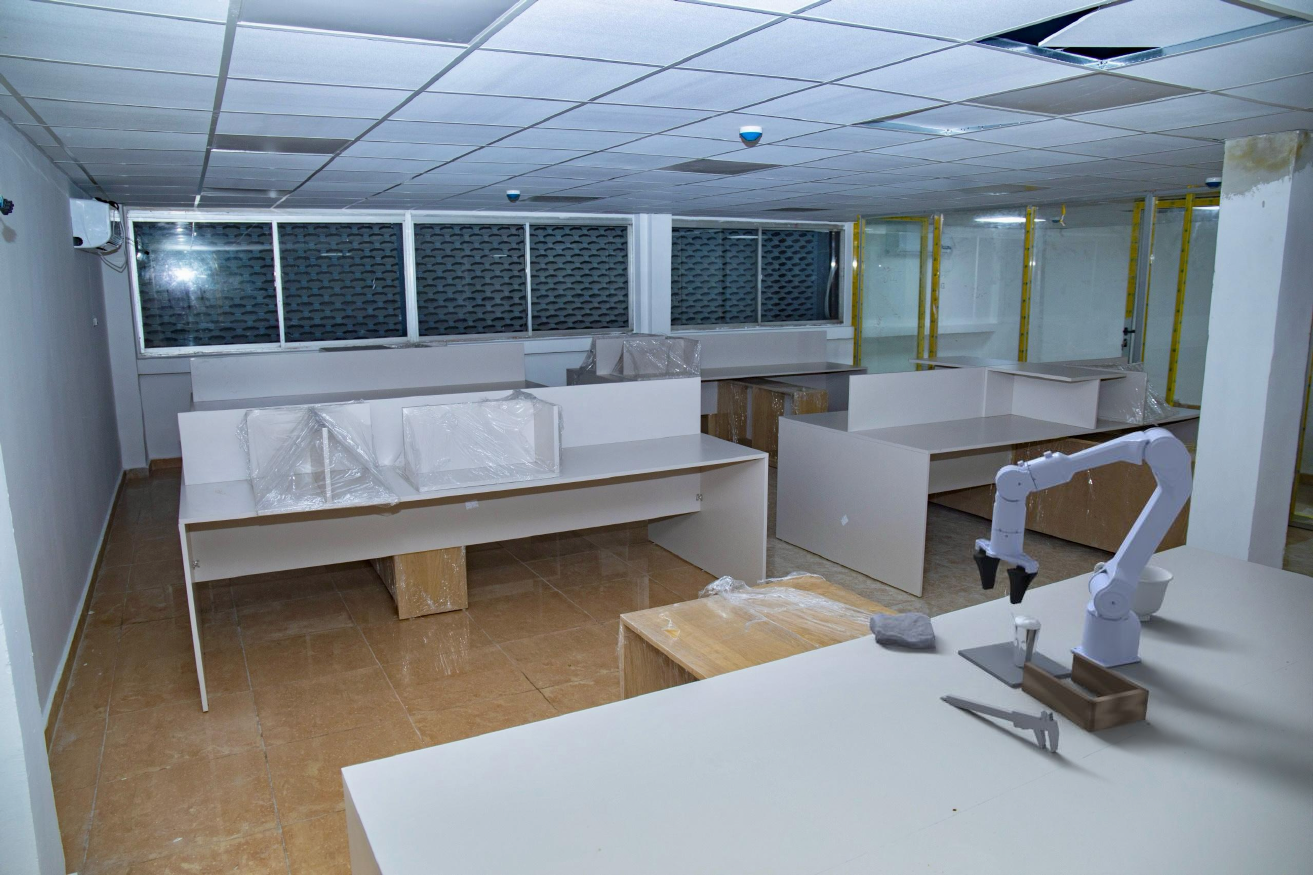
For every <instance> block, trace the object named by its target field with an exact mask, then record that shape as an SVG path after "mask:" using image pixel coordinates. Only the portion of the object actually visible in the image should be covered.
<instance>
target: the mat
mask: <svg viewBox="0 0 1313 875" xmlns="http://www.w3.org/2000/svg"><path fill="white" fill-rule="evenodd" d="M1013 650H1014V640H1012V641H1011V640H1010V641H1005V642H1000V643H994V644H990V645H989V644H988V645H983V646H977V647H972V648H967V649H961V650H960V649H959V650H958V652H957V654H958V655H959V656H961V657H963V658H965V659H966V660H968V661H969V662H970V663H972V664H974V665H976V666H977V667H979V668H980V669H982V670H984V671H985V672H986V673H988V674H989V675H990V676H993V677H994V678H996V679H997V680H999V681H1001V682H1002V683H1004V684H1005V685H1007V686H1008V687H1010V688H1015V687H1022V678H1023V669H1024V668H1021V667H1018V666H1016V665H1014V663H1013ZM1033 665H1034V666H1036V667H1038V668H1040V669H1041V670H1043V671H1045V672H1047V673H1048V674H1050V675H1052V676H1053V677H1055V678H1057V679H1061V678H1066V677H1071V672H1072V669H1069V668H1067V667H1066V666H1064V665H1062V664H1060V663H1058V662H1057V661H1055V660H1053V659H1051V658H1049V657H1048V656H1046V655H1044V654H1043V653H1040V652H1039V651H1037V650H1036V651H1035V656H1034V661H1033Z"/></svg>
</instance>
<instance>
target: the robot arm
mask: <svg viewBox="0 0 1313 875" xmlns="http://www.w3.org/2000/svg"><path fill="white" fill-rule="evenodd" d="M1143 460H1144V461H1145V462H1146V463H1147V464H1148V465H1149V467H1150V469H1151V471H1152V474H1153V476H1154V478H1155V481H1156V483H1157V486H1156V488H1155V490H1154V491H1153V493H1152V495H1151V496H1150V498H1149V500H1148V501H1147V503H1146V505H1145V506H1144V508H1143V509H1142V511H1141V513H1140V514H1139V516H1138V518H1137V519H1136V520H1135V522H1134V524H1133V526H1132V527H1131V529H1130V530H1129V532H1128V533H1127V534H1126V537H1125V539H1124V540H1123V541H1122V544H1121V545H1120V547H1119V549H1118V550H1117V552H1116V553H1115V555H1114V557H1113V558H1112V559H1110V560H1108V561H1107V562H1105V563H1106V564H1105V566H1104V567H1102V569H1101V570H1100V569H1099V572H1097V573H1095V574H1094V573H1093V575H1092V576H1090V578H1089V580H1088V583H1087V587H1088V588H1087V589H1088V592H1089V593H1090V596H1091V597H1092V598H1091V599H1090V601H1089V602H1088V603H1087V604H1086V606H1085V616H1084V623H1083V631H1082V632H1083V633H1082V640H1081V645H1080V646H1074V647H1071V648H1070V651H1071V652H1072V653H1073V654H1075V653H1079V654H1081V655H1083V656H1084V657H1086V658H1088V659H1090V660H1092V661H1094V662H1096V663H1098V664H1100V665H1102V666H1103V667H1105V668H1107V669H1108V668H1111V667H1115V666H1122V665H1126V664H1132V663H1137V662H1141V661H1142V658H1141V657H1139V656H1138V655H1139V649H1140V647H1139V646H1140V640H1141V632H1142V625H1141V621H1139V618H1138V617H1137V615H1136V614H1135V613H1134V612H1132V611H1131V608H1132V598H1133V595H1134V593H1135V592H1136V590H1137V587H1138V582H1139V577H1140V574H1141V572H1142V571H1143V569H1144V568H1145V566H1146V564H1148V563H1149V561H1150V560H1151V558H1152V556H1153V555H1154V554H1155V552H1156V550H1157V549H1158V547H1159V546H1160V544H1161V542H1162V540H1163V539H1164V537H1165V536H1166V535H1167V533H1168V531H1169V530H1170V529H1171V526H1172V525H1173V523H1175V520H1176V518H1177V517H1178V515H1179V514H1180V512H1181V511H1182V509H1183V507H1184V506H1185V504H1186V502H1187V501H1188V499H1189V498H1190V496H1192V495H1191V494H1192V492H1193V491H1194V490H1193V489H1194V486H1193V485H1194V484H1193V475H1192V457H1191V455H1190V453H1189V451H1188V449H1187V447H1186V446H1185V444H1184V443H1183V442H1182V441H1181V440H1180V439H1178V438H1177V437H1175V435H1174V434H1173V433H1172V432H1171V431H1169V430H1168V429H1166V428H1163V427H1151V428H1148V429H1146V430H1145V431H1142V430H1141V431H1140V430H1139V431H1135V432H1132V433H1129V434H1125V435H1123V436H1120V437H1118V438H1114V439H1111V440H1108V441H1106V442H1103V443H1100V444H1098V445H1095V446H1092V447H1090V448H1086V449H1083V450H1080V451H1078V452H1075V453H1072V454H1070V455H1066V454H1065V453H1063V452H1062V453H1061V452H1059V451H1057V452H1053V453H1052V451H1051V450H1049V451H1046V452H1043V456H1041V457H1037V458H1034V459H1031V460H1028V461H1025V462H1024V461H1023V460H1020V461H1017V465H1014V464H1009V465H1005V466H1003V467H1002V468H1000V469H999V470H998V471H997V473H996V476H995V477H994V482H995V487H996V493H995V495H994V501H995V502H994V503H993V511H992V522H991V533H990V534H991V535H990V540H988V539H985V538H980V539H976V540H975V544H974V545H975V547H974V549H975V550H977V551H978V552H976V553H973V555H972V558H973V560H974V561H975V564H976V566H977V569H978V572H979V576H980V582H981V588H982V590H984V591H987V590H993V589H994V587H995V583H996V576H997V571H998V568H999V564H1000V562H1001V560H1002V561H1005V562H1007V563H1009V564H1011V565H1013V566H1015V567H1012V568H1007V569H1006V572H1007V575H1008V580H1009V602H1010V604H1011V605H1018V604H1019V605H1020V604H1022V602H1023V600H1024V597H1025V595H1026V592H1027V590H1028V588H1029V586H1030V585H1031V583H1032V582H1033V580H1034V579H1035V578H1036V577H1037V575H1038V572H1039V570H1038V566H1039V562H1038V561H1036V560H1035V559H1032V558H1031V557H1030V556H1029V555H1028V554H1026V553H1025V552H1023V545H1024V535H1025V527H1026V524H1025V523H1026V515H1027V506H1026V500H1027V496H1029V494H1030V493H1031V492H1034V493H1035V492H1038V491H1042V490H1044V489H1048V488H1051V487H1054V486H1057V485H1062V484H1065V483H1068V482H1070V481H1071V479H1072V478H1073V475H1074V474H1075V473H1077V472H1081V471H1085V470H1086V471H1087V470H1089V469H1093V468H1098V467H1100V466H1105V465H1108V464H1112V463H1116V462H1120V461H1122V462H1127V463H1130V464H1135V465H1139V466H1142V465H1143Z"/></svg>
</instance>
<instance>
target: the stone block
mask: <svg viewBox="0 0 1313 875" xmlns="http://www.w3.org/2000/svg"><path fill="white" fill-rule="evenodd" d="M869 630H870V631H871V633H872V634H873V635H874V637H875V638H874V640H875V642H876V643H881V644H887V645H892V646H893V645H895V646H899V647H900V646H901V647H905V648H913V649H917V650H918V649H919V650H921V649H931V648H934V647H935V648H936V638H935V637H936V636H935V631H934V628H933V625H932V621H931V617H929V615H926V614H924V613H922V612H915V611H914V612H903V613H902V612H901V613H899V614H893V615H892V614H886V613H884V612H881V611H878V612H875V613H873V614H872V615H871V616H870V619H869Z"/></svg>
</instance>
